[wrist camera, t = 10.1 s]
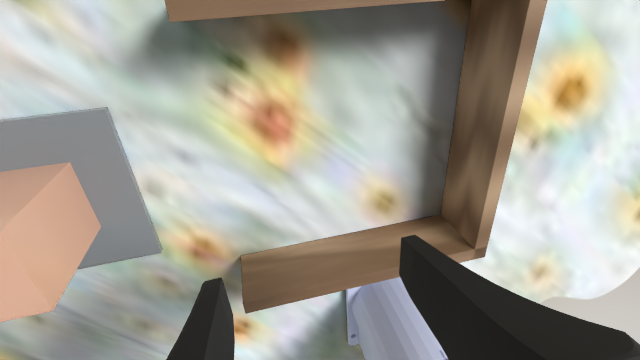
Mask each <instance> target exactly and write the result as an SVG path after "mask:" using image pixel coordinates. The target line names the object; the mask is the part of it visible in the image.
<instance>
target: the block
mask: <svg viewBox="0 0 640 360" xmlns="http://www.w3.org/2000/svg"><path fill="white" fill-rule="evenodd" d="M100 228H101V225H100V223H99V221H98V219H97V217H96V215H95V213H94V211H93V209H92V207H91V205H90V203H89V201H88V199H87V197H86V194H85V192H84V190H83V188H82V186H81V184H80V182H79V180H78V178H77V176H76V174H75V172H74V170H73V168H72V166H71V164H70V162H67V163H60V164H52V165H45V166H38V167H31V168H24V169H17V170H10V171H3V172H0V322H3V321H8V320H12V319H17V318H22V317H26V316H31V315H36V314H40V313H45V312H50V311H53V310H54V308H55V306H56V304H57V303H58V301H59V299H60V297H61V296H62V294H63V292H64V291H65V289H66V287H67V285H68V284H69V282H70V280H71V278H72V277H73V275H74V273H75V271H76V270H77V268H78V266H79V265H80V263H81V261H82V259H83V258H84V256H85V254H86V252H87V251H88V249H89V247H90V245H91V244H92V242H93V240H94V238H95V237H96V235H97V233H98V232H99V230H100Z"/></svg>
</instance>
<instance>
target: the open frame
mask: <svg viewBox="0 0 640 360" xmlns="http://www.w3.org/2000/svg"><path fill="white" fill-rule="evenodd" d="M431 1H443V0H165V4H166V8H167V12H168V15H169V19H170V22H177V21H190V20H202V19H215V18H228V17H240V16H253V15H266V14H278V13H291V12H304V11H316V10H329V9H342V8H354V7H367V6H380V5H392V4H405V3H418V2H431ZM546 3H547V0H471V7H470V14H469V21H468V28H467V35H466V42H465V49H464V56H463V62H462V69H461V76H460V83H459V90H458V97H457V104H456V111H455V118H454V125H453V132H452V139H451V145H450V152H449V159H448V166H447V173H446V180H445V187H444V194H443V201H442V208H441V215H436V216H431V217H426V218H422V219H417V220H412V221H407V222H402V223H397V224H392V225H388V226H383V227H378V228H373V229H368V230H363V231H358V232H354V233H349V234H344V235H339V236H334V237H329V238H324V239H320V240H315V241H310V242H305V243H300V244H295V245H290V246H286V247H281V248H276V249H271V250H266V251H261V252H256V253H252V254H247V255H242V256H241V271H242V295H243V305H244V309H245V313H250V312H254V311H259V310H263V309H267V308H271V307H275V306H280V305H284V304H288V303H292V302H296V301H301V300H305V299H309V298H313V297H318V296H322V295H326V294H330V293H334V292H339V291H343V290H347V289H351V288H355V287H360V286H364V285H368V284H372V283H376V282H381V281H385V280H389V279H393V278H398V277H400V275H399V266H400V249H401V238H402V237H406V236H410V235H417V236H418V237H420V238H421V239H423V240H424V241H426V242H427V243H429V244H430V245H432V246H433V247H435V248H436V249H438V250H439V251H441V252H442V253H444V254H445V255H447V256H448V257H450V258H451V259H453V260H455V261H456V262H458V263H461V262H465V261H469V260H473V259H478V258H482V257H485V253H486V249H487V245H488V241H489V237H490V233H491V229H492V225H493V221H494V216H495V212H496V208H497V204H498V200H499V196H500V192H501V188H502V184H503V180H504V175H505V171H506V167H507V163H508V159H509V155H510V151H511V147H512V143H513V139H514V135H515V130H516V126H517V122H518V118H519V114H520V110H521V106H522V102H523V98H524V94H525V89H526V85H527V81H528V77H529V73H530V69H531V65H532V61H533V57H534V53H535V48H536V44H537V40H538V36H539V32H540V28H541V24H542V20H543V16H544V12H545V8H546Z"/></svg>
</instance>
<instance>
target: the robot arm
mask: <svg viewBox="0 0 640 360" xmlns="http://www.w3.org/2000/svg"><path fill="white" fill-rule="evenodd" d="M399 275H400V277H398V278H393V279H389V280H385V281H381V282H376V283H372V284H368V285H364V286H360V287H355V288H351V289H347V290H346V307H347V337H348V343H349V345H350V346H354V345H358V344H359V345H360V347H361V350H362V353H363V355H364V358H365V360H640V344H638V343H637V342H636V341H635V340H634V339H632V338H631V337H630V336H629V335H627V334H626V333H625V332H623V331H619V330H616V329H613V328H609V327H606V326H602V325H599V324H595V323H592V322H588V321H585V320H582V319H579V318H576V317H573V316H570V315H567V314H564V313H562V312H559V311H556V310H553V309H550V308H548V307H545V306H543V305H540V304H538V303H536V302H533V301H531V300H528V299H526V298H524V297H522V296H519V295H517V294H515V293H513V292H511V291H509V290H507V289H504V288H502V287H500V286H498V285H496V284H494V283H492V282H491V281H489V280H487V279H485V278H483V277H481V276H480V275H478V274H476V273H474V272H473V271H471V270H469V269H468V268H466V267H464V266H463V265H461V264H459V263H458V262H456V261H455V260H453V259H451V258H450V257H448V256H447V255H445V254H444V253H442V252H441V251H439V250H438V249H436V248H435V247H433V246H432V245H430V244H429V243H427V242H426V241H424V240H423V239H421V238H420V237H418V236H417V235H410V236H406V237H402V238H401V249H400V266H399ZM234 343H235V340H234V323H233V313H232V310H231V307H230V303H229V300H228V297H227V294H226V290H225V287H224V284H223V280H222V278H218V279H213V280H209V281H205V282H204V283H203V284H202V287H201V290H200V292H199V295H198V297H197V299H196V302H195V304H194V306H193V308H192V311H191V313H190V315H189V317H188V319H187V321H186V323H185V325H184V327H183V329H182V331H181V333H180V335H179V337H178V339H177V341H176V343H175V345H174V346H173V348H172V350H171V352H170V354H169V355H168V357H167V359H166V360H234Z"/></svg>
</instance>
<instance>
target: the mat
mask: <svg viewBox="0 0 640 360" xmlns="http://www.w3.org/2000/svg"><path fill="white" fill-rule="evenodd" d="M67 162H70V164H71V166H72V168H73V170H74V172H75V174H76V176H77V178H78V180H79V182H80V184H81V186H82V188H83V190H84V192H85V194H86V197H87V199H88V201H89V203H90V205H91V207H92V209H93V211H94V213H95V215H96V217H97V219H98V221H99V223H100V225H101V228H100V230H99V232H98V233H97V235H96V237H95V238H94V240H93V242H92V244H91V245H90V247H89V249H88V251H87V252H86V254H85V256H84V258H83V259H82V261H81V263H80V265H79V266H78V268H77V269H81V268H86V267H91V266H96V265H101V264H106V263H111V262H116V261H122V260H127V259H132V258H137V257H142V256H147V255H152V254H157V253H161V252H162V247H161V244H160V241H159V239H158V236H157V234H156V231H155V229H154V226H153V223H152V221H151V218H150V216H149V213H148V211H147V208H146V205H145V203H144V200H143V198H142V195H141V193H140V190H139V187H138V185H137V182H136V180H135V177H134V175H133V172H132V169H131V167H130V164H129V162H128V159H127V157H126V154H125V151H124V149H123V146H122V144H121V141H120V138H119V136H118V133H117V131H116V128H115V126H114V123H113V120H112V118H111V115H110V113H109V110H108V108H107V107H105V108H97V109H89V110H80V111H72V112H63V113H55V114H46V115H38V116H30V117H21V118H13V119H4V120H0V172H3V171H10V170H17V169H24V168H31V167H38V166H45V165H52V164H60V163H67Z"/></svg>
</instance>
